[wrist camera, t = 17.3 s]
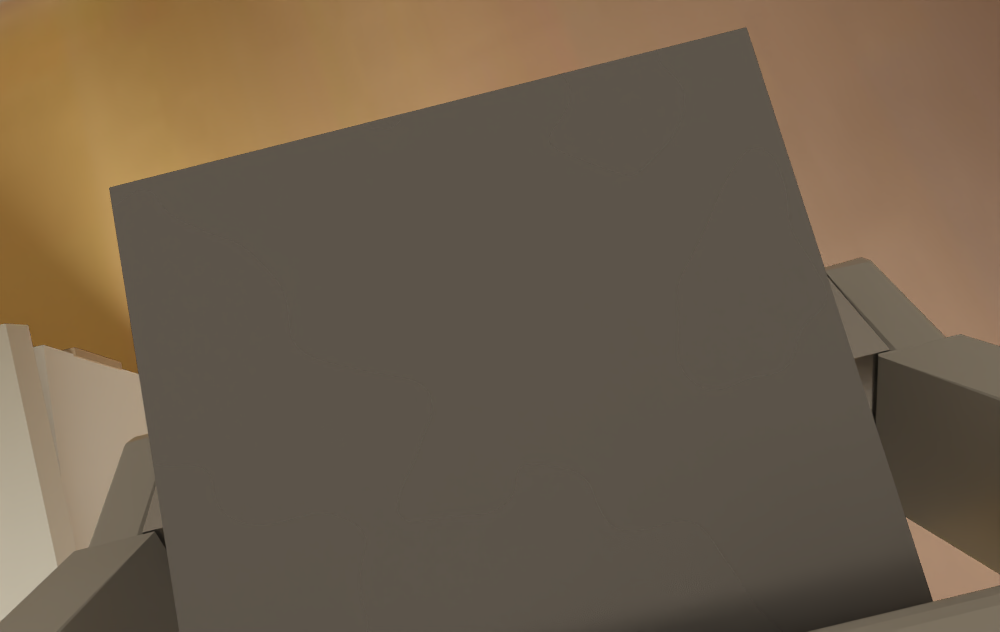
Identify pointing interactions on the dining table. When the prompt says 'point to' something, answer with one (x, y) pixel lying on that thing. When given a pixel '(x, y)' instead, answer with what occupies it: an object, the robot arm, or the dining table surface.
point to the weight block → (512, 371)
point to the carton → (88, 426)
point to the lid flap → (27, 476)
